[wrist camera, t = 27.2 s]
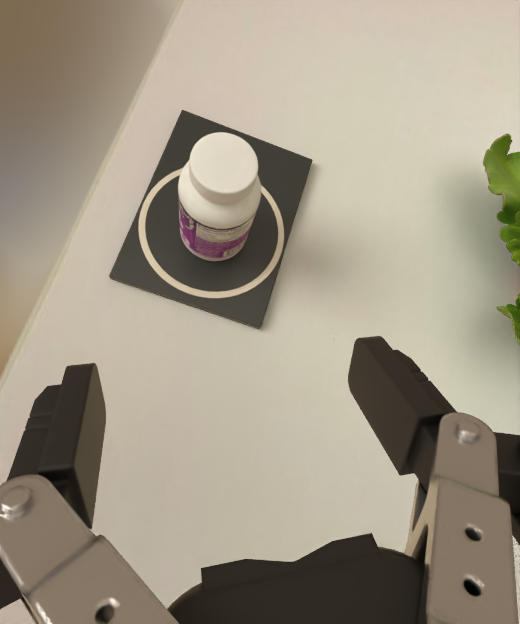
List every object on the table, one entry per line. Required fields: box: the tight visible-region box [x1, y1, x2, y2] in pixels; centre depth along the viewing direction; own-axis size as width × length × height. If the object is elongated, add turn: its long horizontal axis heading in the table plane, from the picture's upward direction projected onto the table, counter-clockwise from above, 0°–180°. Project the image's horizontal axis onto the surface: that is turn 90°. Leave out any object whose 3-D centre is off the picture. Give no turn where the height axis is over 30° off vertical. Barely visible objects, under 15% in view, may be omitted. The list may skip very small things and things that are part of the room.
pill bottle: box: [178, 132, 261, 261], centre depth 28 cm, size 5×5×10 cm
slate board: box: [109, 110, 312, 329], centre depth 33 cm, size 16×12×1 cm
